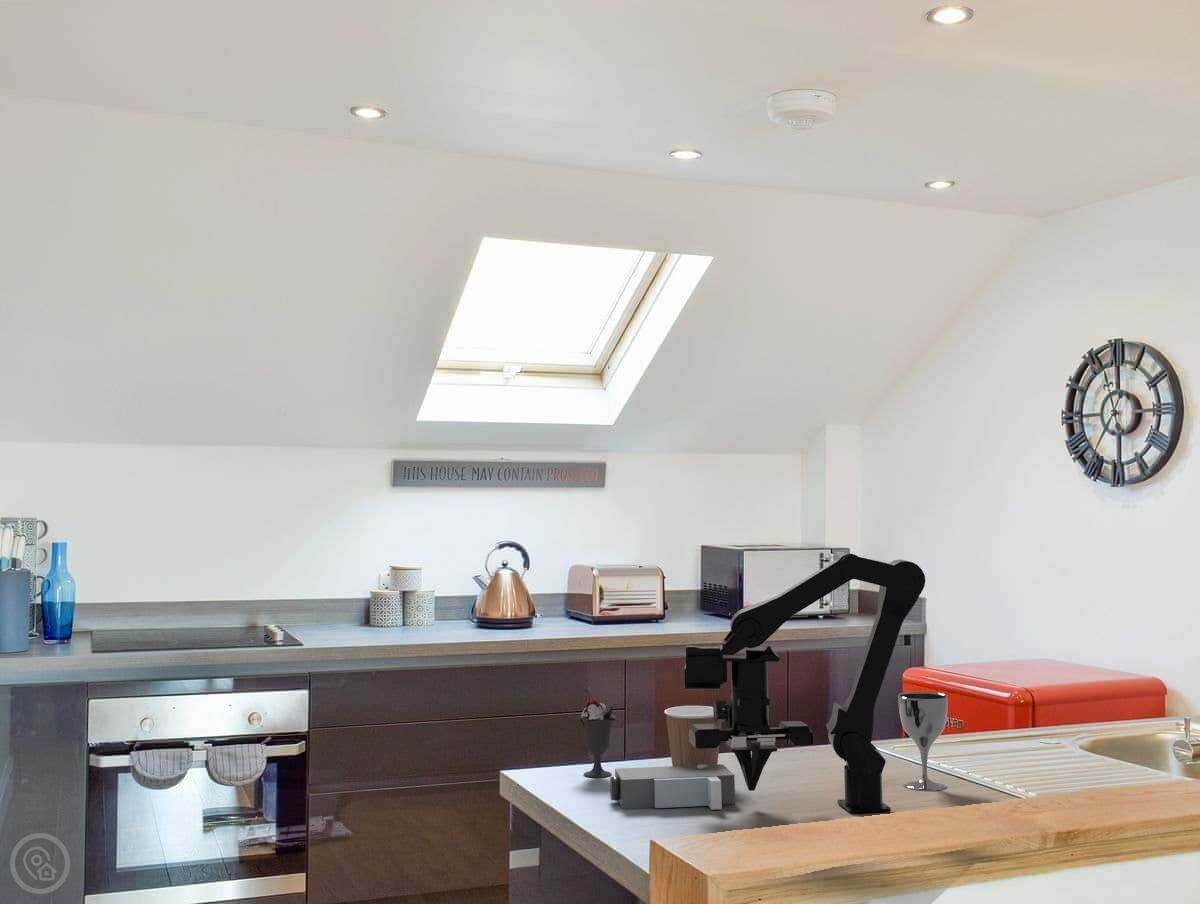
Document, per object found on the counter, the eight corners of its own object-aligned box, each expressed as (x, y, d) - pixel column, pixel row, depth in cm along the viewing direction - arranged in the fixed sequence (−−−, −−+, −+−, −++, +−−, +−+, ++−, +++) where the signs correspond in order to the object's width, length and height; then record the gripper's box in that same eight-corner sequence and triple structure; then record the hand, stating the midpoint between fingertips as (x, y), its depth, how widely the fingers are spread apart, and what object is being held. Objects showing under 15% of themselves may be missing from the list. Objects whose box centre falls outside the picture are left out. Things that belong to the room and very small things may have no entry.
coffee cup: (735, 778, 201) (734, 708, 201) (707, 790, 192) (706, 717, 193) (683, 771, 206) (682, 703, 207) (654, 783, 198) (653, 712, 198)
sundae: (573, 772, 207) (572, 688, 207) (608, 769, 209) (607, 685, 210) (585, 780, 200) (584, 693, 201) (621, 777, 203) (620, 690, 204)
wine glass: (940, 779, 198) (938, 691, 198) (956, 791, 190) (954, 698, 190) (894, 780, 197) (892, 692, 198) (908, 792, 189) (906, 699, 190)
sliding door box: (735, 803, 183) (734, 771, 184) (614, 809, 181) (614, 777, 181) (723, 791, 191) (722, 761, 192) (608, 796, 189) (607, 765, 189)
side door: (721, 809, 179) (721, 780, 180) (657, 812, 178) (657, 783, 178) (716, 804, 183) (716, 776, 183) (654, 806, 181) (654, 779, 182)
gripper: (792, 680, 191) (794, 776, 191) (681, 683, 189) (682, 780, 188) (813, 691, 180) (815, 792, 179) (695, 694, 178) (696, 797, 177)
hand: (751, 790), depth 181 cm, fingers closed
